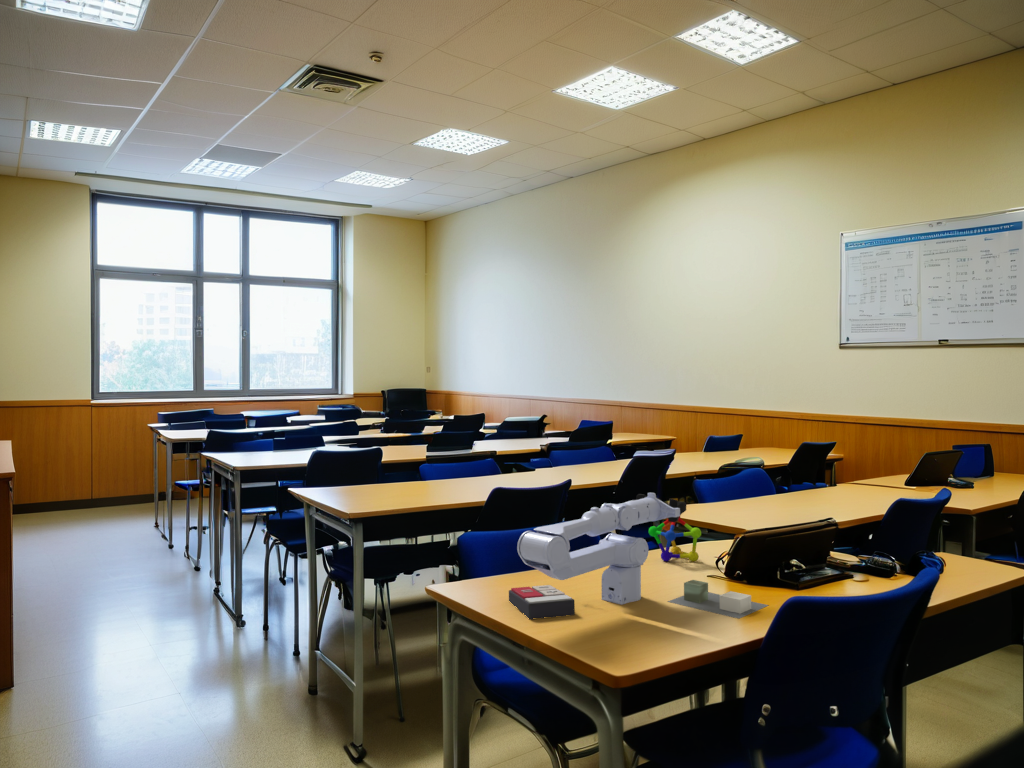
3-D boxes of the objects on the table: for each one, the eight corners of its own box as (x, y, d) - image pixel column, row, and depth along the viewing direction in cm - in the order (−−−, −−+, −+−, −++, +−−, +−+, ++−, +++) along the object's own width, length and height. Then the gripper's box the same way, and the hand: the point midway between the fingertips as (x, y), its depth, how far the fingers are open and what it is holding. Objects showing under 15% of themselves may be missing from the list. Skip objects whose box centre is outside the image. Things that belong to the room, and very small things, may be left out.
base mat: (739, 623, 153) (738, 618, 153) (667, 605, 166) (667, 601, 166) (768, 609, 163) (768, 605, 163) (698, 594, 176) (698, 590, 176)
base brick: (740, 613, 157) (740, 599, 157) (719, 608, 160) (719, 595, 160) (751, 608, 160) (751, 595, 160) (730, 604, 164) (730, 591, 164)
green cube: (699, 603, 164) (699, 585, 164) (684, 599, 167) (683, 582, 167) (708, 599, 167) (708, 582, 167) (693, 596, 170) (693, 579, 170)
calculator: (550, 583, 174) (575, 596, 159) (551, 601, 173) (575, 616, 159) (508, 586, 170) (528, 600, 156) (508, 605, 170) (529, 620, 156)
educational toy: (642, 563, 213) (639, 512, 215) (671, 557, 221) (667, 508, 222) (683, 567, 201) (679, 514, 202) (712, 561, 209) (708, 509, 210)
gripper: (664, 499, 168) (696, 492, 177) (616, 491, 179) (649, 485, 188) (664, 528, 168) (696, 520, 178) (616, 519, 179) (649, 512, 188)
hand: (672, 504), depth 183 cm, fingers open, 7 cm apart
